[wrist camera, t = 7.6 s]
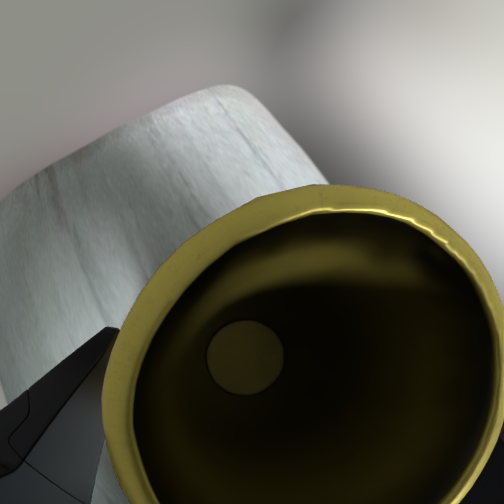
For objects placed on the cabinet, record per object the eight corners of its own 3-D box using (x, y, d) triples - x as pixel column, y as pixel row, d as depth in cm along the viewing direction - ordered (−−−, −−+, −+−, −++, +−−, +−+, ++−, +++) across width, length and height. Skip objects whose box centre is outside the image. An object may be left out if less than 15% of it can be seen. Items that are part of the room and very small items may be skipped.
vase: (315, 339, 17) (547, 304, 3) (259, 425, 15) (381, 606, 1) (228, 283, 17) (274, 76, 3) (169, 370, 15) (-7, 459, 2)
